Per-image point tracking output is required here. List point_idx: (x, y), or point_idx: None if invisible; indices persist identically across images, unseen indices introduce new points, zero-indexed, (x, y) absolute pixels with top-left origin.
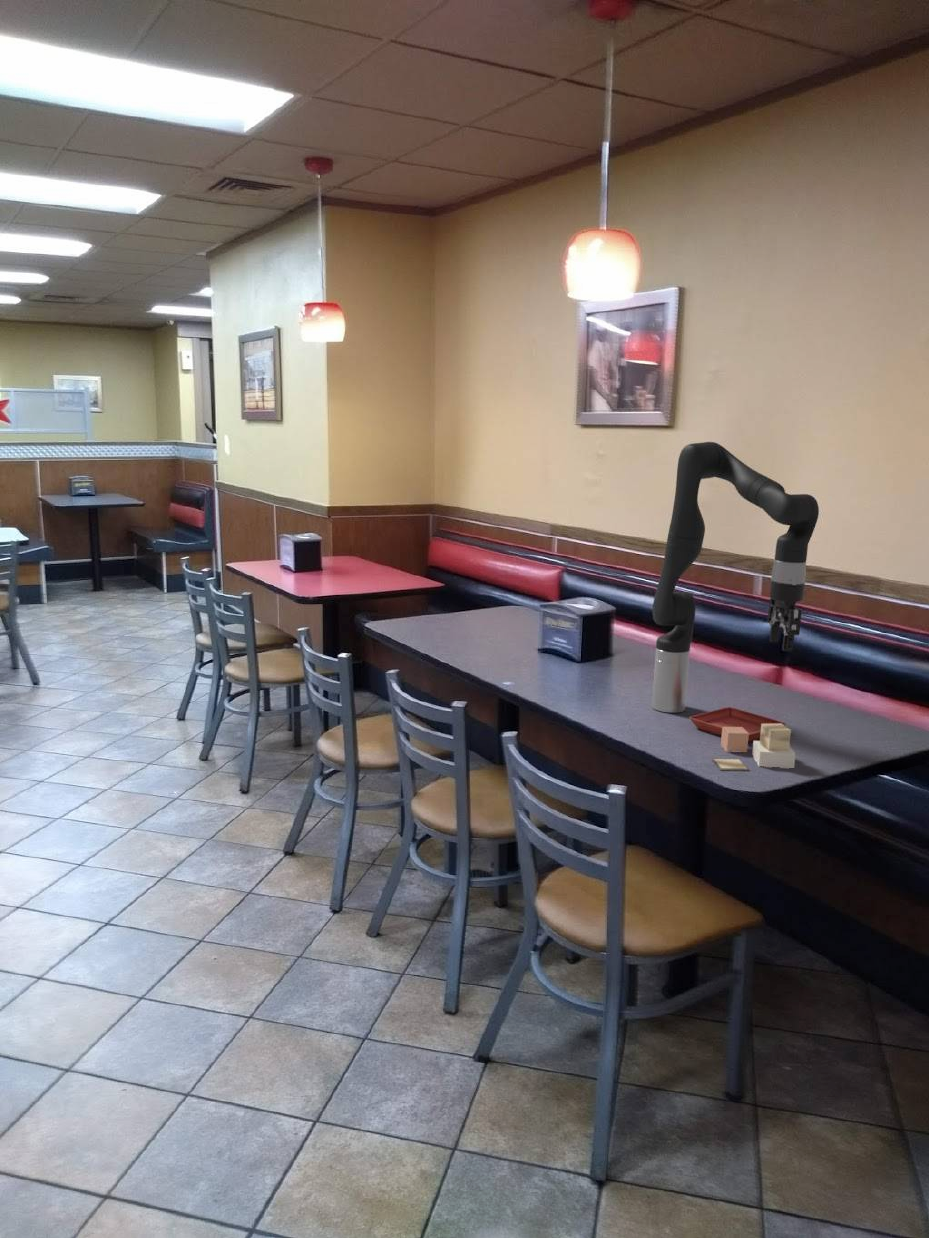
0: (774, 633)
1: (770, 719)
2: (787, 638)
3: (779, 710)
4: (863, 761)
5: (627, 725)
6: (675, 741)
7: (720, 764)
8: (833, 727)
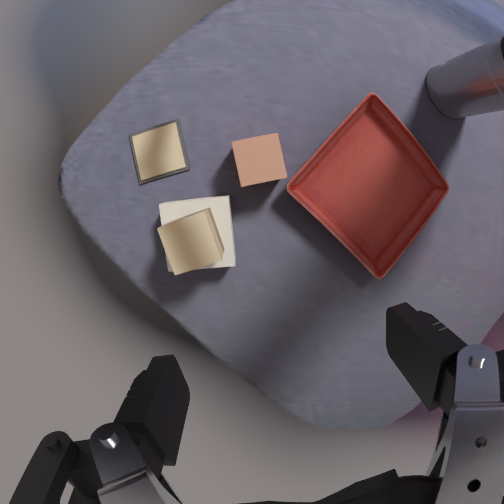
0: (413, 352)
1: (399, 253)
2: (116, 420)
3: (467, 276)
4: (249, 371)
5: (336, 7)
6: (272, 62)
7: (149, 133)
8: None
